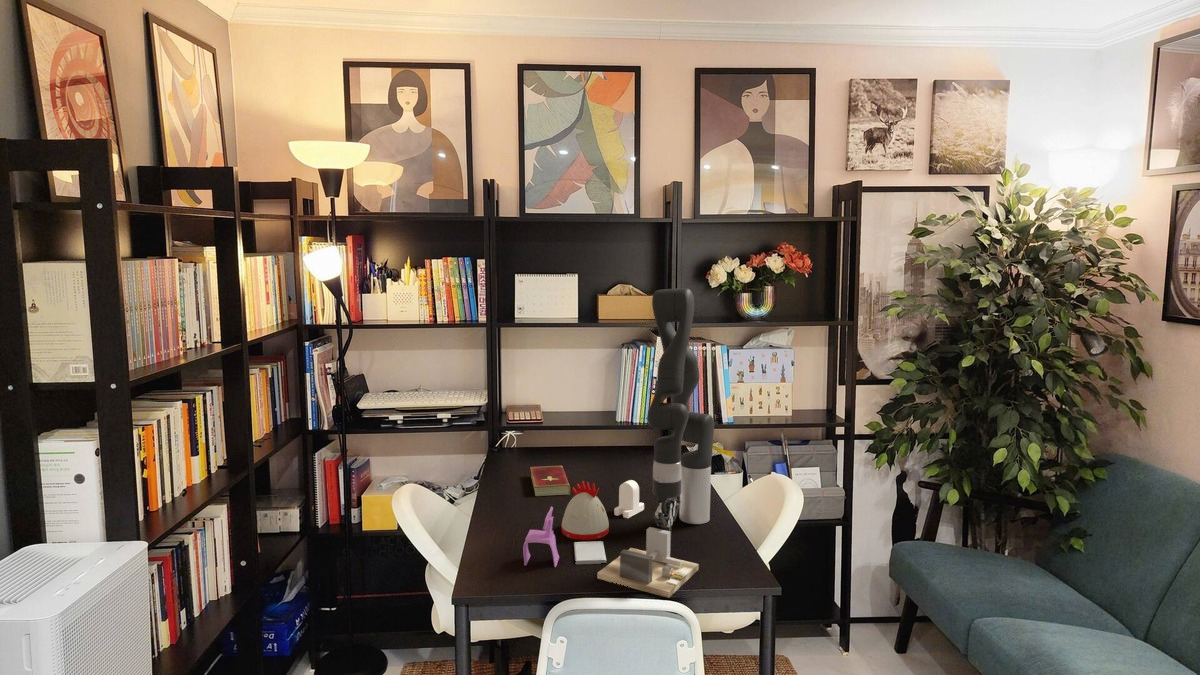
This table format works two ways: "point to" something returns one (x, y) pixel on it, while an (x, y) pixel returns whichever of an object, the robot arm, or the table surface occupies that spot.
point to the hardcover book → (549, 481)
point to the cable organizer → (628, 500)
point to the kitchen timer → (585, 515)
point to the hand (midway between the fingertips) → (666, 538)
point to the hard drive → (589, 552)
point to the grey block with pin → (669, 572)
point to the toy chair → (542, 538)
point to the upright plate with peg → (660, 546)
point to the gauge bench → (656, 576)
